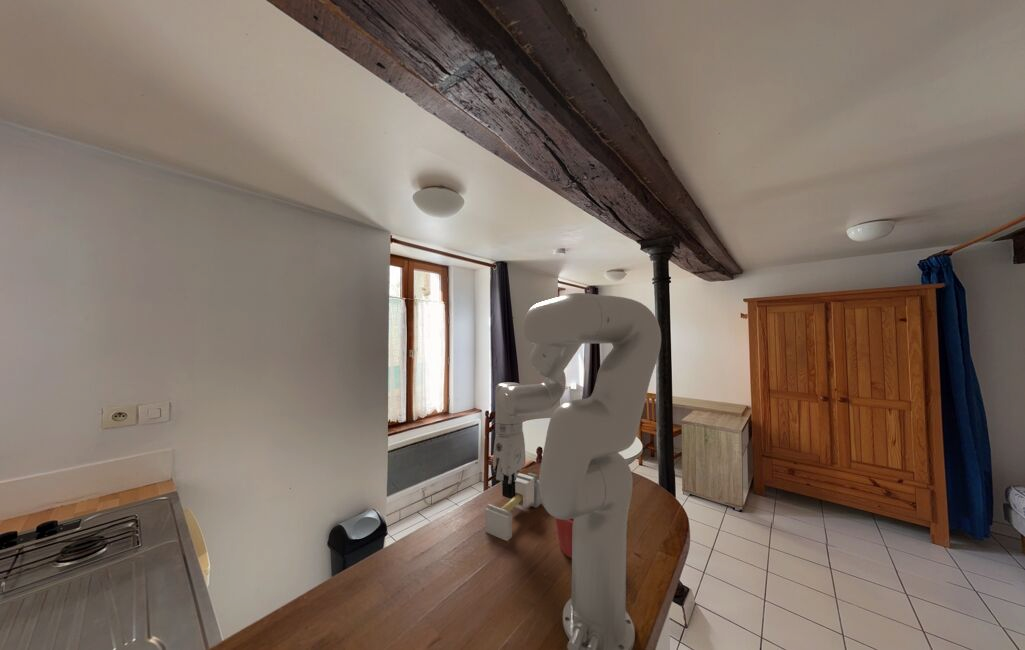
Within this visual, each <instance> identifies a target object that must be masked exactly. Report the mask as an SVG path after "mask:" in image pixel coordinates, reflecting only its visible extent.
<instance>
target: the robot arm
mask: <svg viewBox="0 0 1025 650" xmlns="http://www.w3.org/2000/svg"><path fill="white" fill-rule="evenodd" d="M522 332H523V335H524V336H523V337H524V338H525V339H526V341H527V342H529V343H530V344H532V345H534V347H533V349H532V350H531V352H530V353H529V361H530V364H531V366H532V368H533V369H534V370H535V371H536V372H537V373H538V374H540V375H541V376H543V377H545V379H544V380H543V381H542V382H541V383H533V384H524V385H523V384H520V383H518V382H509V381H508V382H499V383H498V384H497V385H496V386H495V408H494V409H495V411H494V412H495V419H494V420H495V427H494V428H495V437H494V441H493V442H494V444H493V455H492V456H493V457H492V459H493V460H492V464H493V465H492V467H493V468H492V469H493V472H494V473H495V474H496V475H495V480H496V481H500V482H501V484H502V485H501V487H502V490H501V491H502V495H501V496H502V497H504V498H508V499H512V498H513V497H515V481H516V477H517V474H518V471H520V470H521V469H522V468H523V467H525V466H526V443H525V442H526V441H525V436H524V435H525V434H524V431H523V425H524V424H523V421H524V420H523V416H528V415H534V414H542V413H547V412H549V411H551V410H552V409H553V408H554V407H555V406H556V405H557V404H558V403H559V402H560V400H561V398H563V396H564V393H565V391H566V386H567V385H566V383H567V380H566V374H565V369H566V368H567V367H568V366H569V363H570V362H571V360H572V359H573V358H574V356H575V355H576V353H577V352H578V350H579V349H580V347H581V346H582V344H611V345H612V349H611V350H610V351H609V353H608V354H607V355H606V357H605V358H604V359H603V361H602V362H601V364H600V366H599V369H598V371H597V375H596V379H595V384H594V387H593V391H592V393H591V394H590V396H588V397H587V398H581V399H573V400H570V401H569V400H568V401H566V402H564V403H562V404H560V405H558V407H557V408H556V409H555V410H554V411H553V413H552V415H551V417H550V419H549V422H548V426H547V431H546V436H545V442H544V447H543V451H542V452H543V453H542V457H541V463H540V468H539V474H538V478H539V479H538V480H539V492H540V497H541V504H542V505H543V507H544V510H545V511H546V512H547V513H548V514H549V515H550V516H552V517H553V518H557V519H561V520H569V519H573V518H574V519H573V528H572V558H571V597H570V598H569V599H568V600H567V601H566V603H565V605H564V607H563V611H562V626H563V630H564V633H565V635H566V637H567V639H568V640H569V641H568V643H567V645H566V646H567V647H566V648H567V650H633V648H634V645H635V643H636V642H635V641H636V639H635V638H636V632H635V625H634V623H633V619H632V618H631V616H630V614H629V613H628V612H627V611H626V607H627V605H626V603H627V601H626V600H627V531H628V530H627V527H628V525H627V524H628V515H629V508H630V506H631V505H630V504H631V499H632V493H633V485H634V484H633V474H632V471H631V468H630V465H629V463H628V461H627V459H625V458H624V456H623V455H622V454H620V453H621V452H624V451H625V450H628V449H629V448H630V447H631V446H632V445H633V444H634V442H635V441H636V438H637V435H638V433H639V428H640V425H641V420H642V416H643V412H644V407H645V404H646V399H647V397H648V396H647V395H648V390H649V386H650V383H651V379H652V377H653V374H654V370H655V367H656V364H657V362H658V359H659V355H660V350H661V345H662V331H661V327H660V324H659V321H658V319H657V318H656V316H655V314H654V312H653V311H652V310H651V309H650V308H649V307H647V306H646V305H644V304H643V303H642V302H639V301H637V300H634V299H632V298H629V297H622V296H616V295H615V296H614V295H606V294H605V295H603V294H593V293H586V292H585V293H583V292H575V293H568V294H563V295H560V296H556V297H554V298H551V299H550V298H549V299H547V300H544V301H541V302H537V303H535V304H534V305H532V306H531V307H530V308H529V309H528V311H527V313H525V316H524V319H523V323H522Z"/></svg>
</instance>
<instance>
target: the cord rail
mask: <svg viewBox="0 0 1025 650" xmlns="http://www.w3.org/2000/svg"><path fill="white" fill-rule="evenodd" d="M526 475H528V476H531V477H534V503H533V504H532V505H531V506H530V507H533V508H536V509H537V508H538V507H539V506H540V505H541V504H542V501H541V497H540V492H539V479H538V474H535V473H533V472H528V473H527V474H526ZM522 500H523V495H522V494H518V495H516V496H515V497H514V498H513V499H511V500H509V501H508V502H506V503H505V504H504V505H503V506H501V507H498V506H495V505H494V504H491V503H488V504H487V508H485V533H487V534H490V535H491V536H494V537H497V538H499V539H501V540H503V541H506V542H508V541H510V539H512V536H513V535H512V534H513V533H512V531H513V529H512V528H513V527H512V526H513V513H512V510H513V509H514V508H516V507H515V506H516V505H517V504H518V503H520V502H521V501H522Z"/></svg>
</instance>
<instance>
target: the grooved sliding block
mask: <svg viewBox="0 0 1025 650" xmlns="http://www.w3.org/2000/svg"><path fill="white" fill-rule="evenodd" d="M518 494H522V495H523V500H522V501H521V502H520V503H518V504H517V505H516V506H515V507H514V508H517V509H519V510H522V511H525V512H526V511H527V510H528V509H529V508H530V507H532V506H531V505H532V504H533V503H534V477H531V476H528V475H527V474H525V473H521V472H519V473H517V477H516V481H515V496H516V495H518ZM513 498H514V497H513ZM513 498H512V499H513ZM509 499H510V498H509ZM510 500H511V499H510ZM510 500H509V501H510Z"/></svg>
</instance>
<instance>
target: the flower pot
mask: <svg viewBox="0 0 1025 650" xmlns="http://www.w3.org/2000/svg"><path fill="white" fill-rule="evenodd" d="M554 518H555V517H554ZM573 519H574V518H573ZM573 519H569V520H561V519H557V518H555V524H556V531H557V537H558V538H557V539H558V542H559V543H558V544H559V548H560V551H561V552H562V553H563V554H564V555H565V556H566V557H568V558H571V559H572V528H573Z"/></svg>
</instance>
